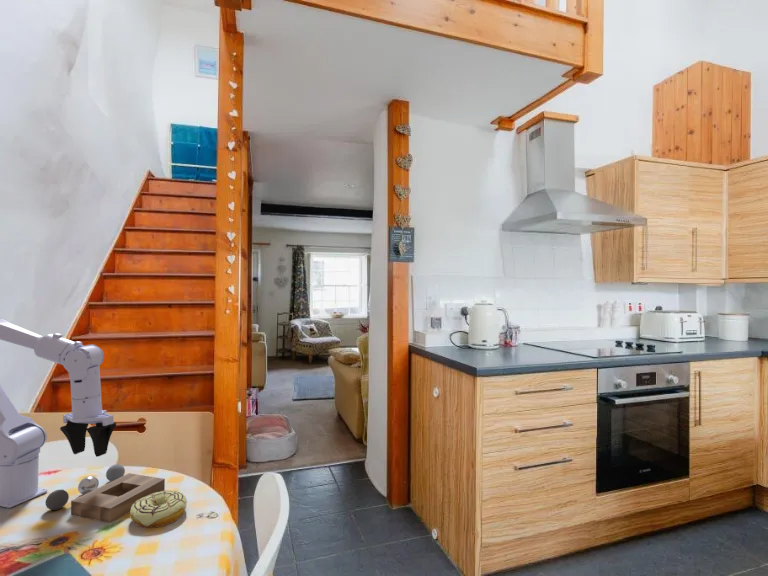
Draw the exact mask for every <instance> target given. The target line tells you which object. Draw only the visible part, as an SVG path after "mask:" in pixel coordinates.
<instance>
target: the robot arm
mask: <svg viewBox="0 0 768 576" xmlns="http://www.w3.org/2000/svg"><path fill="white" fill-rule="evenodd" d="M63 336H64V335H63V334H61V333H59V332H58V333H48V334H45V335H40V334H39V333H36V332H33V331H31V330H28V329H26V328H24V327H21V326H19V325H16V324H13V323H11V322H10V321H8V320H6V319H3V318H0V340H1V341H5V342H8V343H10V344H11V343H12V344H14V345H17V346H22V347H25V348H28V349H31V350H33V352H34V355H35V356H36V357H39V358H41V359H44V360H47V361H50V362H52V363H56V364H58V365H62V366H63V368H64V369H65V370H66V371H67V373H68V378H69V381H70V398H71V399H70V400H71V412H69V413H66V414H64V415H62V422H63V424H66V425H62V426H61V427H59V430H60V431H61V433H63V435H64V436H65V437H66V440H67V441H68V443H69V446H70V448H71V451H72V454H73V455H77V454H80V453H83V452H85V450H86V438H87V437H86V435H87V433H88V434H89V437H90V439H91V441H92V446H93V452H94V455H95V457H101V456H103V455H106V454H107V452H108V446H109V442H110V439H111V436H112V434H113V431H114V429H115V428H116V426H117V422H116V421H114V415H113V414H109V413H107V410H106V409H104V410H103V404H102V403H103V401H102V386H101V385H102V384H101V383H102V382H101V369H100V365H102V364H103V363H104V359H105V354H104V351H103V349H102V348H101V347H99V346H97V345H96V344H93V343H92V344H86V345H84V344H83V342H82V341H80V340H79V341H78V340H77V341H73V340H70V339H68V338H65V337H63ZM90 424H92V425H94V426H90V427H88V426H89V425H90ZM47 437H48V435H47V431H46V430H45V428H43V426H41V425H39V424H38V423H36V422H35V421H34V420H33V418H32V417H30V416H26V415H22V414H21V413H19V412H18V410H17V408H16V407H15V405H14V404H13V402H12V401H11V399H10V398H9V396H8V395H7V393H6V392H5V391H4V389H3V387H2V386H1V385H0V507H4V508H7V509H10V508H13V507H16V506H18V505H20V504H22V503H24V502H27V501H29V500H31V499H33V498H35V497H38V496H41V495H43V494H45V493H47V492H48V490H49V489H47V488H43V487H39V466H40V465H39V461H40V459H39V457H40V456H39V455H40V453H41V448H42V447H43V446H44V445H45V443H46V442H47V439H48V438H47Z"/></svg>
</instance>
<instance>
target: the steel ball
mask: <svg viewBox="0 0 768 576" xmlns="http://www.w3.org/2000/svg"><path fill="white" fill-rule="evenodd" d="M99 485H100V481H99V479H98V478H97V477H96V476H93V475H90V476H85V477H84V478H82V479H81V480H80V482H79V483H78V484H77V490H78V492H79V494H81V495H85V494H87V493H89V492H91V491H93V490H95V489H97V488H99Z"/></svg>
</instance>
